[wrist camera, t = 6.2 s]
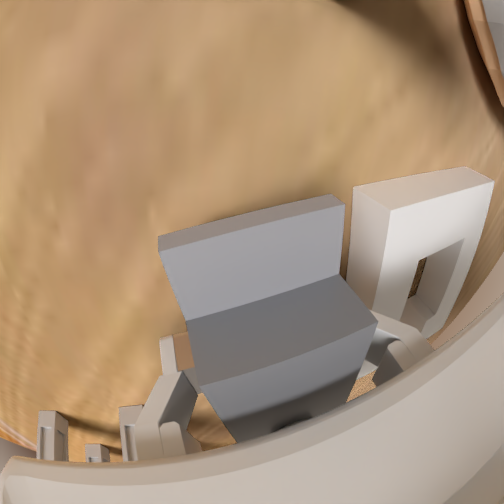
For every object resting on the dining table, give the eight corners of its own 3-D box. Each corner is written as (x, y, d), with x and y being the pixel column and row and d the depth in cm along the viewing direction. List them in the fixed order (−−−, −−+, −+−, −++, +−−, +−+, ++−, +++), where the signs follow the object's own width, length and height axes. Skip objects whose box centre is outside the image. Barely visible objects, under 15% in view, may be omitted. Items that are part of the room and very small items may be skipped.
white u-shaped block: (353, 186, 14) (390, 210, 11) (465, 166, 16) (494, 181, 13) (333, 358, 23) (349, 383, 20) (425, 310, 25) (442, 328, 22)
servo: (158, 182, 8) (164, 338, 3) (274, 155, 9) (410, 257, 4) (218, 362, 14) (252, 465, 10) (285, 341, 15) (334, 435, 10)
